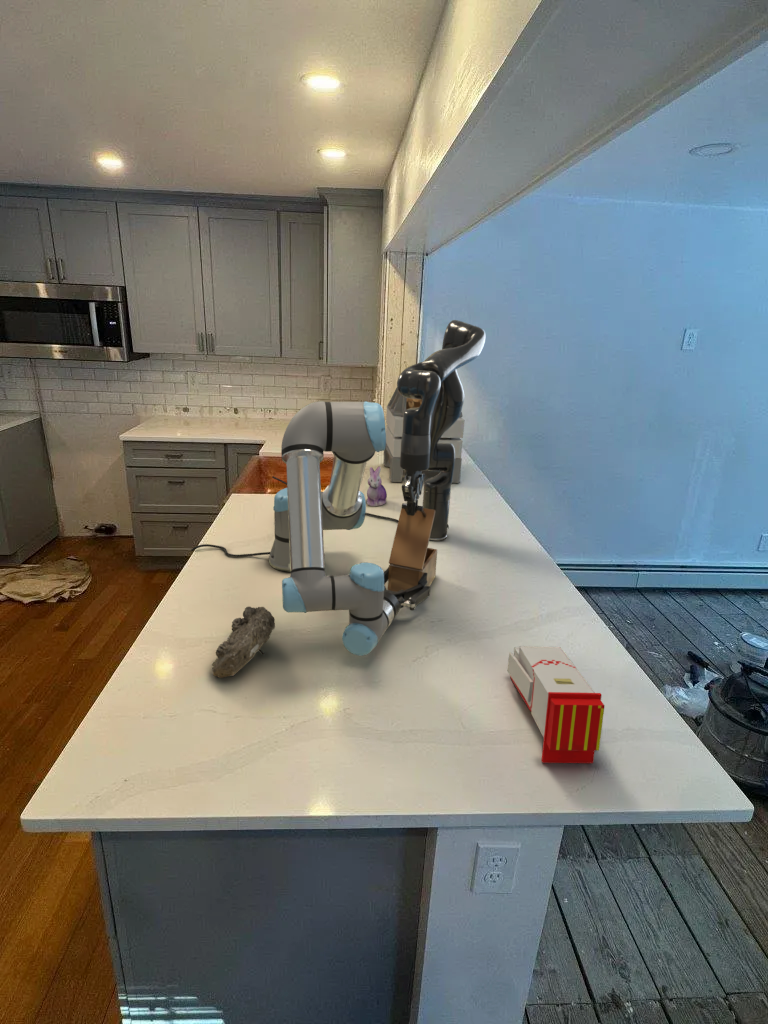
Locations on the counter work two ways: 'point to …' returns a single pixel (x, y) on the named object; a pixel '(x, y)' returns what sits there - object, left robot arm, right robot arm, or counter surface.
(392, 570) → the chest
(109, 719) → the counter surface
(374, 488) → the figurine
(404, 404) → the transformer
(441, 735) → the counter surface
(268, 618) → the fossil
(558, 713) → the toy
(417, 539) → the lid
